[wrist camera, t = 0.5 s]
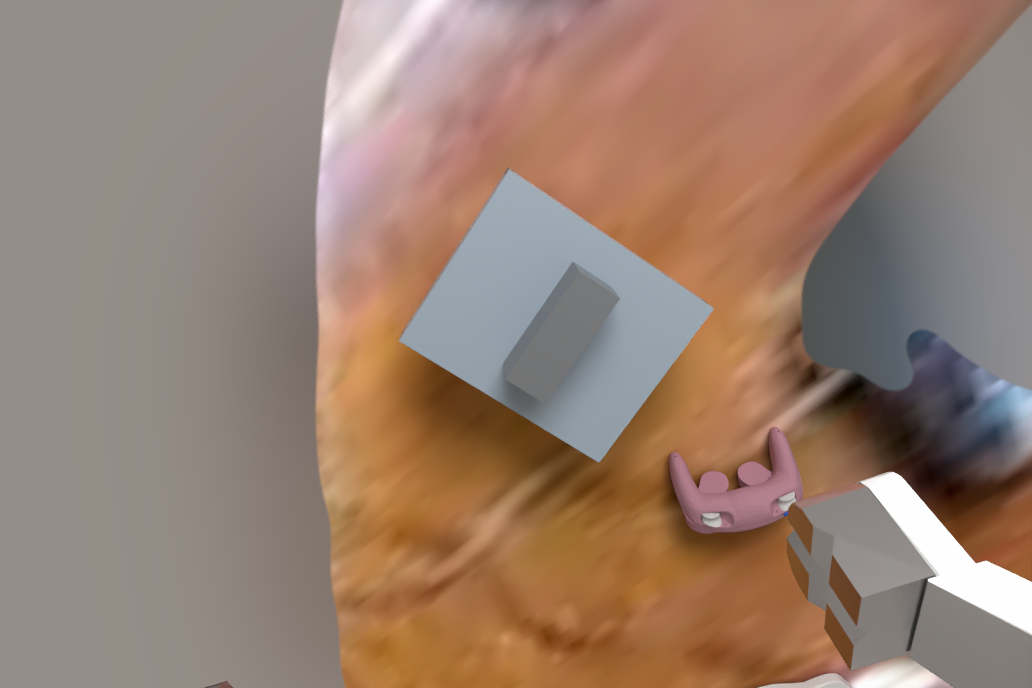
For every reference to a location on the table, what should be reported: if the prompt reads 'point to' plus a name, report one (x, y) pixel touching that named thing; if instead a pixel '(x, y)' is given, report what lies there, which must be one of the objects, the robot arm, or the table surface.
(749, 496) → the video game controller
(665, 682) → the table surface
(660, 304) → the lid
